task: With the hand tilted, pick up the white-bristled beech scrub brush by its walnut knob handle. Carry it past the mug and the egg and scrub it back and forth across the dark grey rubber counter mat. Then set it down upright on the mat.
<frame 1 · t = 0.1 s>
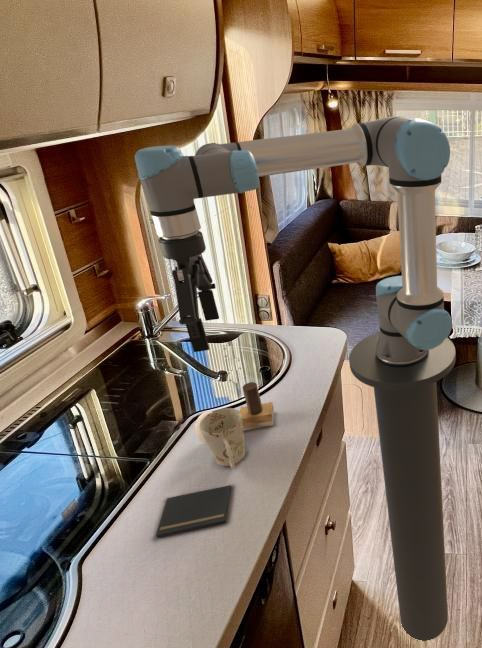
hand: (207, 333, 102), 28 cm above the worktop, tool pointing down, fingers open, 13 cm apart
counter mat: (196, 511, 96), on the worktop
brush: (258, 422, 119), on the worktop
mug: (233, 462, 108), on the worktop
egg: (214, 441, 114), on the worktop
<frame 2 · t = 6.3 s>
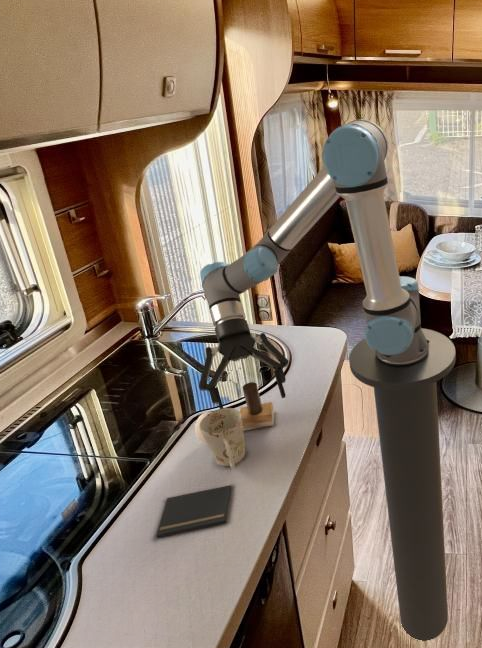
hand: (254, 406, 115), 6 cm above the worktop, tool tilted 45°, fingers open, 13 cm apart
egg: (214, 441, 114), on the worktop, touching gripper
everything else where it was.
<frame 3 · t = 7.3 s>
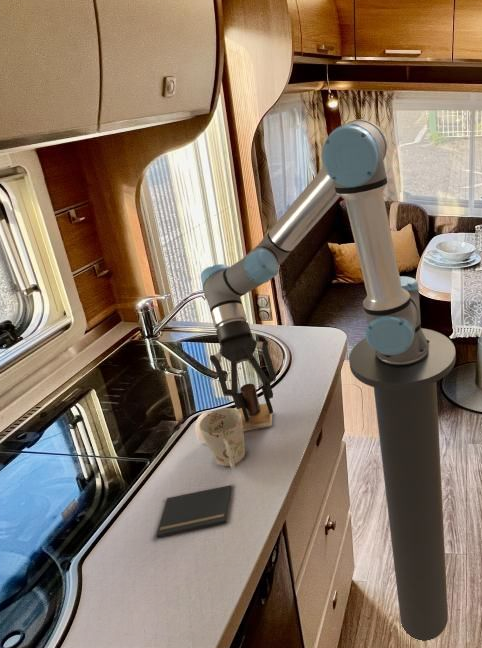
hand: (259, 416, 115), 4 cm above the worktop, tool tilted 45°, fingers closed on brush, 5 cm apart
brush: (256, 422, 119), on the worktop, touching gripper
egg: (214, 441, 114), on the worktop
everything else where it was.
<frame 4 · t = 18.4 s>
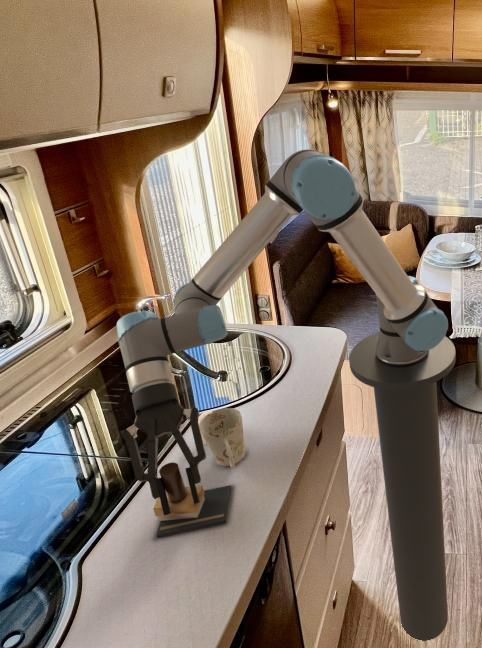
hand: (182, 508, 90), 5 cm above the worktop, tool tilted 45°, fingers closed on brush, 4 cm apart
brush: (182, 510, 96), point 1 cm above the worktop, touching counter mat, gripper
everything else where it was.
when the fingers open (6 cm above the worktop, at t = 19.1 s): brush stays where it is, resting on counter mat.
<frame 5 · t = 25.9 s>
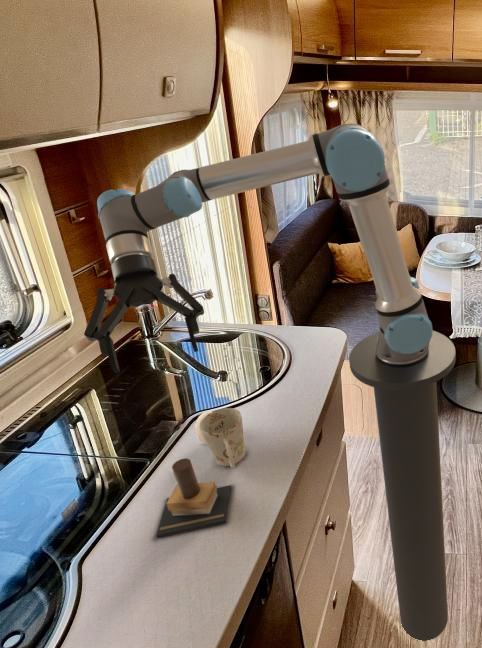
hand: (157, 360, 94), 28 cm above the worktop, tool tilted 45°, fingers open, 13 cm apart
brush: (195, 505, 96), point 1 cm above the worktop, touching counter mat
everything else where it was.
at the end: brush inside the target area on the counter mat (0.8 cm from its centre), point 0.6 cm above the counter mat's base; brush tilted 0°; the gripper is holding nothing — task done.
